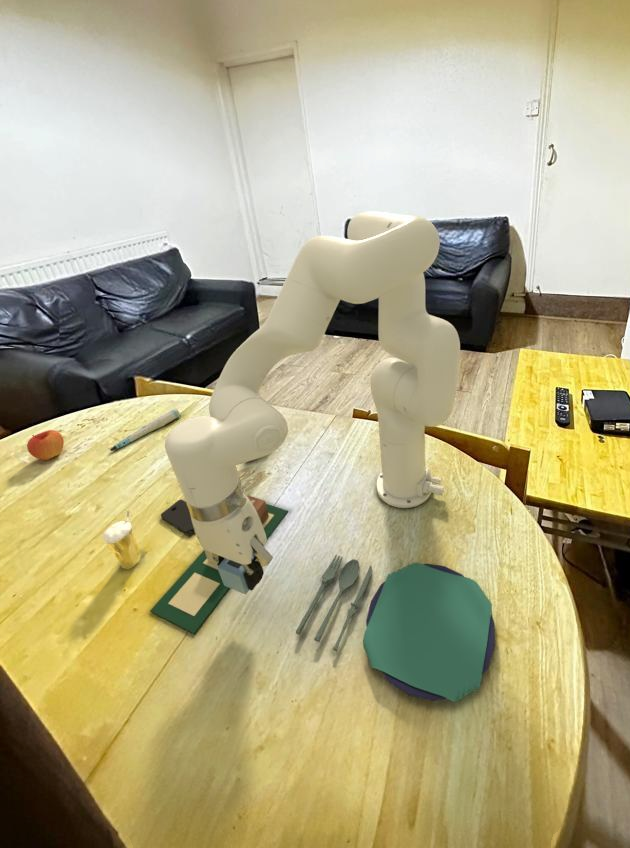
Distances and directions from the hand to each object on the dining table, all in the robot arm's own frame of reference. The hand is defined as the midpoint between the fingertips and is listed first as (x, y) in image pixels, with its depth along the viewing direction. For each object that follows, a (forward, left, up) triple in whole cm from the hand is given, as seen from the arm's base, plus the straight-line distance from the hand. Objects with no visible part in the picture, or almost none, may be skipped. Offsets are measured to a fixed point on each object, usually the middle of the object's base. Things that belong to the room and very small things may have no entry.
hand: (243, 575), depth 68 cm
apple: (+76, -12, -7) cm, 78 cm away
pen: (+59, -28, -7) cm, 66 cm away
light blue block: (0, 0, 0) cm, 0 cm away
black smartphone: (+25, -9, -7) cm, 28 cm away
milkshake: (+27, +2, -7) cm, 28 cm away
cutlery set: (-25, -6, -7) cm, 27 cm away
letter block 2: (+10, -13, -6) cm, 18 cm away
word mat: (+10, -5, -7) cm, 13 cm away
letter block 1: (+10, -5, -6) cm, 13 cm away
